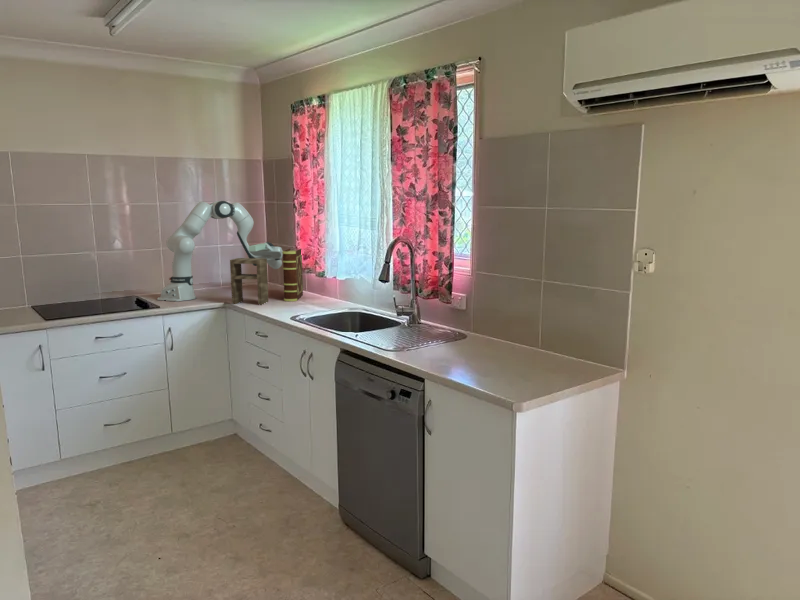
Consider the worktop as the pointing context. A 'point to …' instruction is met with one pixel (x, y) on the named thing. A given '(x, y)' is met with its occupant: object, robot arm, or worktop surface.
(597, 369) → the worktop surface
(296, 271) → the decorative book
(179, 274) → the robot arm
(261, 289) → the walnut shelf
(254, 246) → the pale green bar
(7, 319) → the worktop surface
